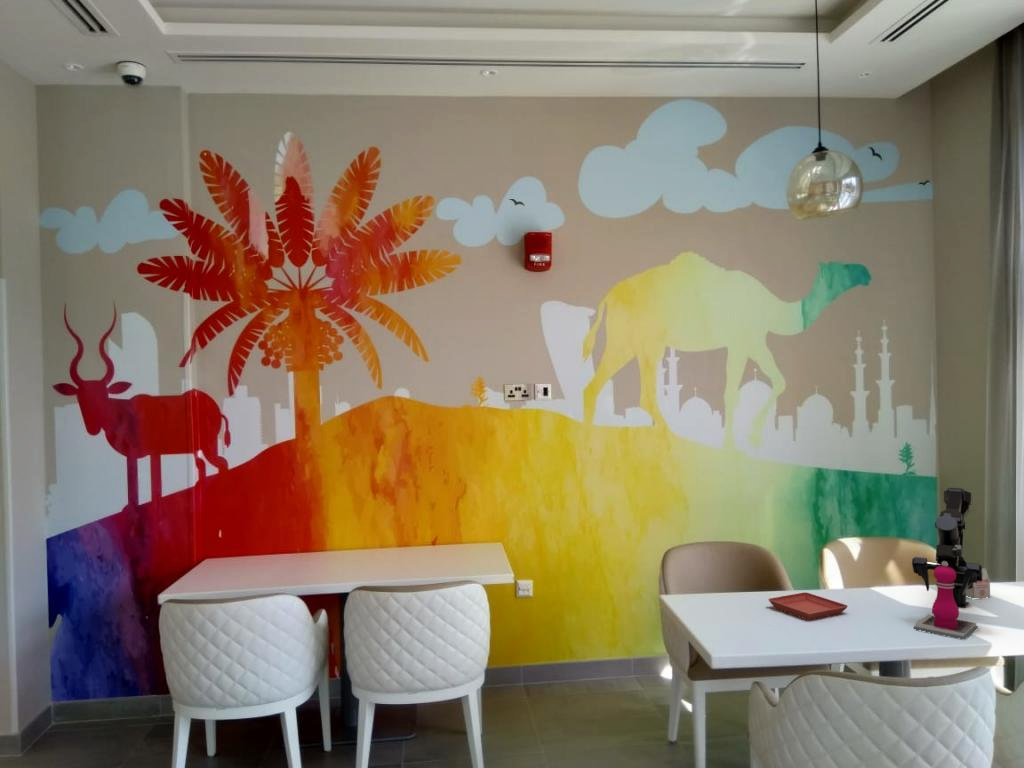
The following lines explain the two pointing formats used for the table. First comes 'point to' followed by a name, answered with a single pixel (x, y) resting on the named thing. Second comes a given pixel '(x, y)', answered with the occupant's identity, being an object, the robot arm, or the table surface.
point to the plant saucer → (807, 605)
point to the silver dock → (960, 632)
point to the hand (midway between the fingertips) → (944, 592)
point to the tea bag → (980, 587)
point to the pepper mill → (945, 598)
